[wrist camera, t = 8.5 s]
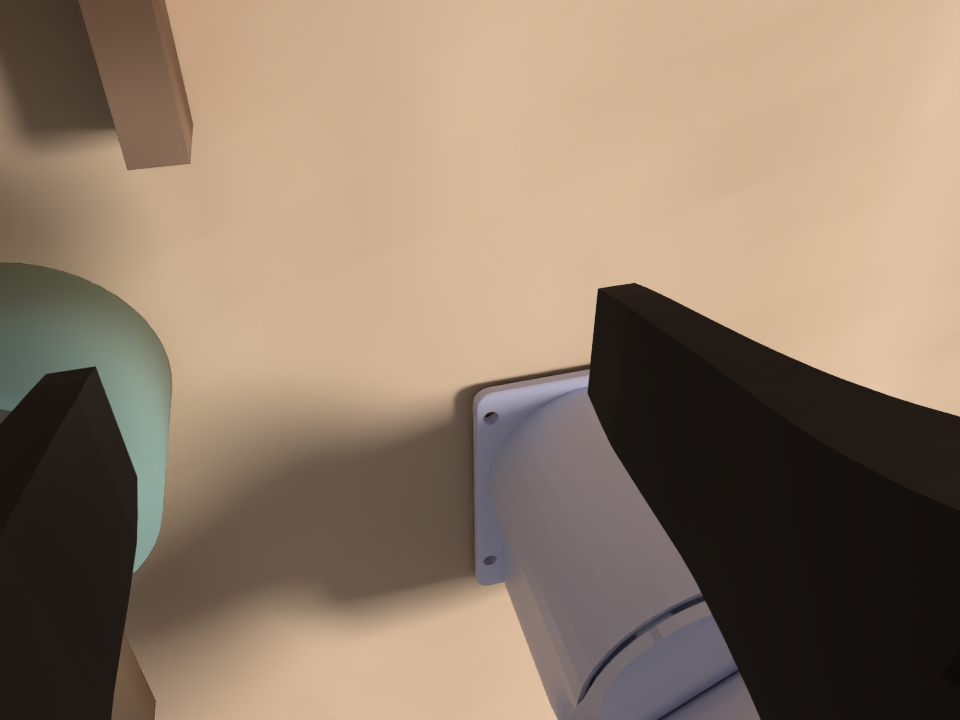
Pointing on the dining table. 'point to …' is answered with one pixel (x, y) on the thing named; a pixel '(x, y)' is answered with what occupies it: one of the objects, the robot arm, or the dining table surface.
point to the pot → (128, 385)
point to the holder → (141, 80)
